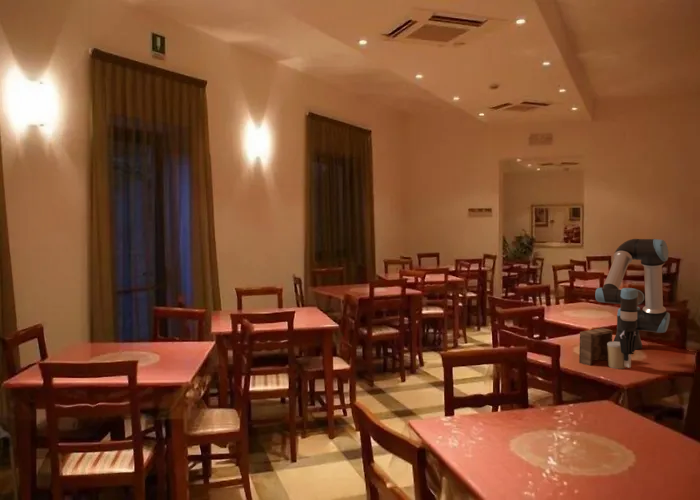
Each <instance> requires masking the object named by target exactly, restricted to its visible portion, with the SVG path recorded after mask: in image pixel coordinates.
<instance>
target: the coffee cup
mask: <svg viewBox="0 0 700 500" xmlns="http://www.w3.org/2000/svg"><path fill="white" fill-rule="evenodd" d="M607 348H608V360H607V364H608V366H607V367H608V368H611V369H614V370H615V369H616V370H617V369H618V370H623V369H626V367H624V354H623V353H621V346H620V342H615V341H614V340H612V342H608V343H607Z"/></svg>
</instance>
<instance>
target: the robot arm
mask: <svg viewBox="0 0 700 500" xmlns="http://www.w3.org/2000/svg"><path fill="white" fill-rule="evenodd" d="M668 248H669V247H668V244H667V242H666V240H664V239H660V238H659V239H657V238H632V239H631V238H630V239H629V240H626V241H624V242H623V243H621V244H620V245H619V246H618V247H617V248H616V250H615V251H614V253H613V262H612V264H611V266H610V269H609V272H608V274H607V276H606V278H605V281H604V283H603V286H602V287H597V288H596V289H595V294H594V295H595V300H596V302H598V303H606V304H607V303H608V304H617V305H620V307H619V308H618V309H617V314H616V334H615V336H614V339H613V341H615V342H620V346H621V353H623V354H624V367H625V368H629V369H630V368H631V367H632V355H634V353H635V350H641V349H643V342H642V340H641V336H640V331H643V332H652V333H663V334H664V333H666V332H667V330H668V328H669V325H670V319H671V313H670V312H668V311H667V308H666V307H665V306H664V300H663V299H664V297H663V266H664V265H665V264H666V262H667V261H668V260H669V249H668ZM633 260H636V261H640V265H642V266H643V271H644V273H643V275H644V276H643V278H644V293H643V292H642V291H641V290H639V289H637V288H632V287H623V288H620V287H621V285H622V282H623V280H624V277H625V274H626V272H627V270H628V266H629V264H630V263H632V261H633ZM644 301H645V306H643V308H642V309H641V307H639V305H641V304H642V303H643V302H644Z"/></svg>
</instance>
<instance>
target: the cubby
mask: <svg viewBox="0 0 700 500" xmlns="http://www.w3.org/2000/svg"><path fill="white" fill-rule="evenodd" d="M612 341H613V329H612V330H611V329H608V328H603V327H602V328H595V329H590V330H583V331H579V355H578V356H579V359H578V360H579V364H583V365H586V366H592V364H593V361H597V360H598V361H599V360H601V361H604V360H605V361H608V348H607V343H608V342H612Z"/></svg>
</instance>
